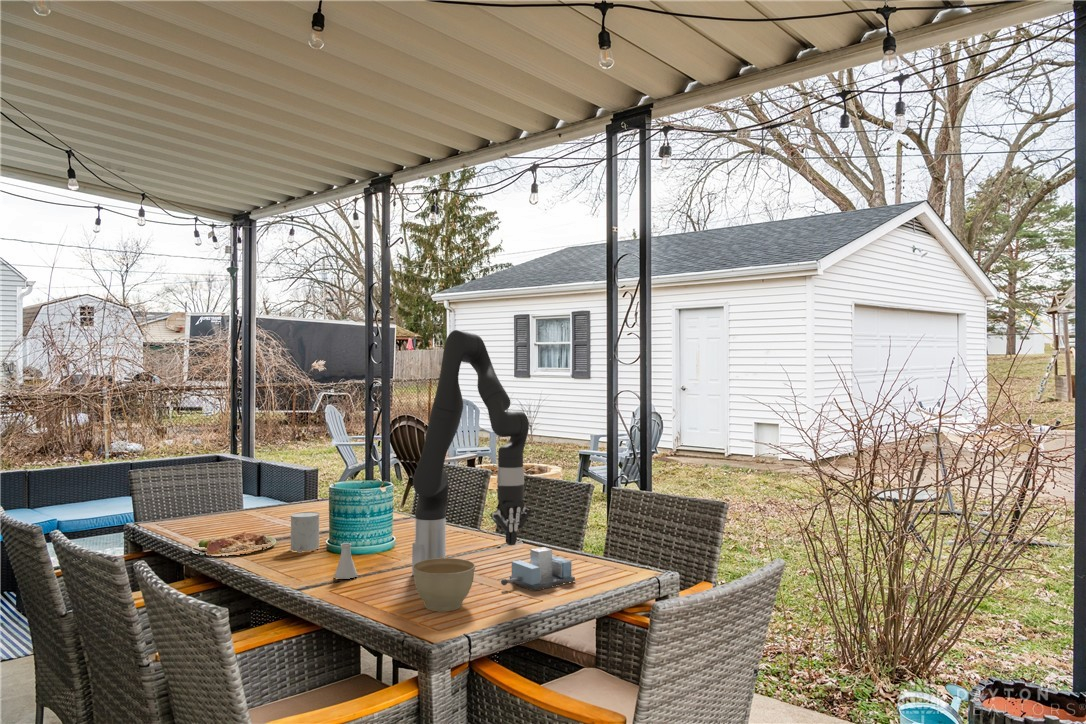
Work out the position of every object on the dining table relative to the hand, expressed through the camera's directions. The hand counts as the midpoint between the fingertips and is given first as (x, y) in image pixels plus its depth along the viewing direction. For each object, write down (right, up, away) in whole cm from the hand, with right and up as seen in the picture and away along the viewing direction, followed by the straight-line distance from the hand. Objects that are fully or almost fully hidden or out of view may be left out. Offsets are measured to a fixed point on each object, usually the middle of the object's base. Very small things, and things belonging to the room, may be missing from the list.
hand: (511, 544), depth 202 cm
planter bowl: (-17, -13, -13) cm, 25 cm away
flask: (-50, -14, +14) cm, 54 cm away
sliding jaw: (+1, -12, +5) cm, 13 cm away
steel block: (+8, -12, +10) cm, 18 cm away
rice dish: (-100, -15, +51) cm, 113 cm away
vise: (+9, -14, +10) cm, 19 cm away
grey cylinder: (-74, -15, +49) cm, 90 cm away
